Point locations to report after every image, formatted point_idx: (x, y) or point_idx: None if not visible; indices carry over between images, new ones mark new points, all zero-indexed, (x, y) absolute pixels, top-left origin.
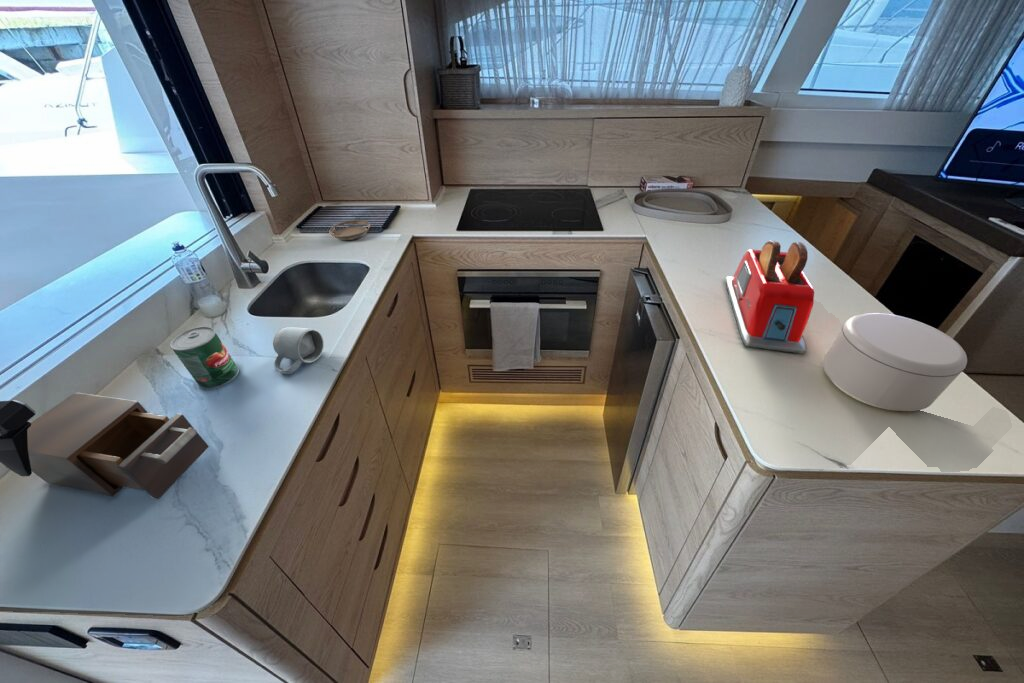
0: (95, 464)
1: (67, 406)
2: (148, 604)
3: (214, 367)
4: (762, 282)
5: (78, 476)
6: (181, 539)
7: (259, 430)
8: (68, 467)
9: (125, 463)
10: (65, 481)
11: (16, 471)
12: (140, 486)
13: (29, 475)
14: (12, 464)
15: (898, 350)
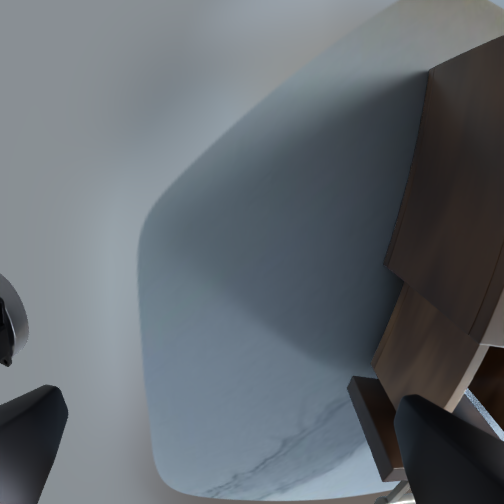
0: (450, 337)
1: None
2: (156, 445)
3: None
4: None
5: (436, 245)
6: (254, 445)
7: None
8: (461, 266)
9: (395, 478)
10: (433, 144)
11: (416, 429)
12: (364, 409)
13: (394, 425)
14: (437, 478)
15: None
